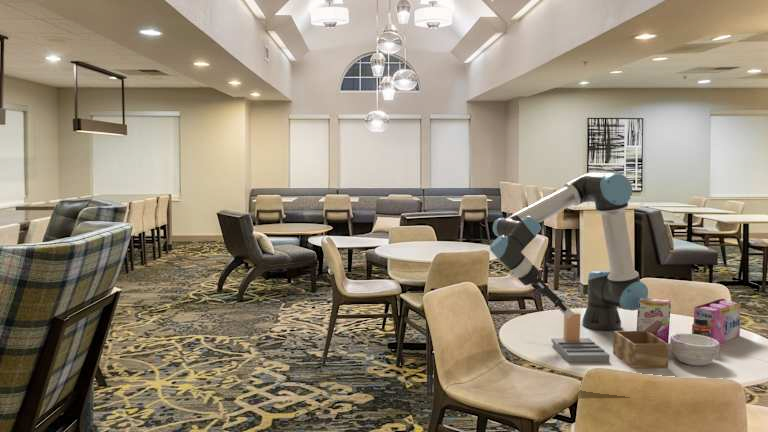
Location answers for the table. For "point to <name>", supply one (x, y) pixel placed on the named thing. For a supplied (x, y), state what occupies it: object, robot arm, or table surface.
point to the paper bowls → (694, 348)
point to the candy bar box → (654, 317)
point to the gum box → (721, 318)
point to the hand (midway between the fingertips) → (564, 311)
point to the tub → (640, 349)
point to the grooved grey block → (578, 344)
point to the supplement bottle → (701, 327)
